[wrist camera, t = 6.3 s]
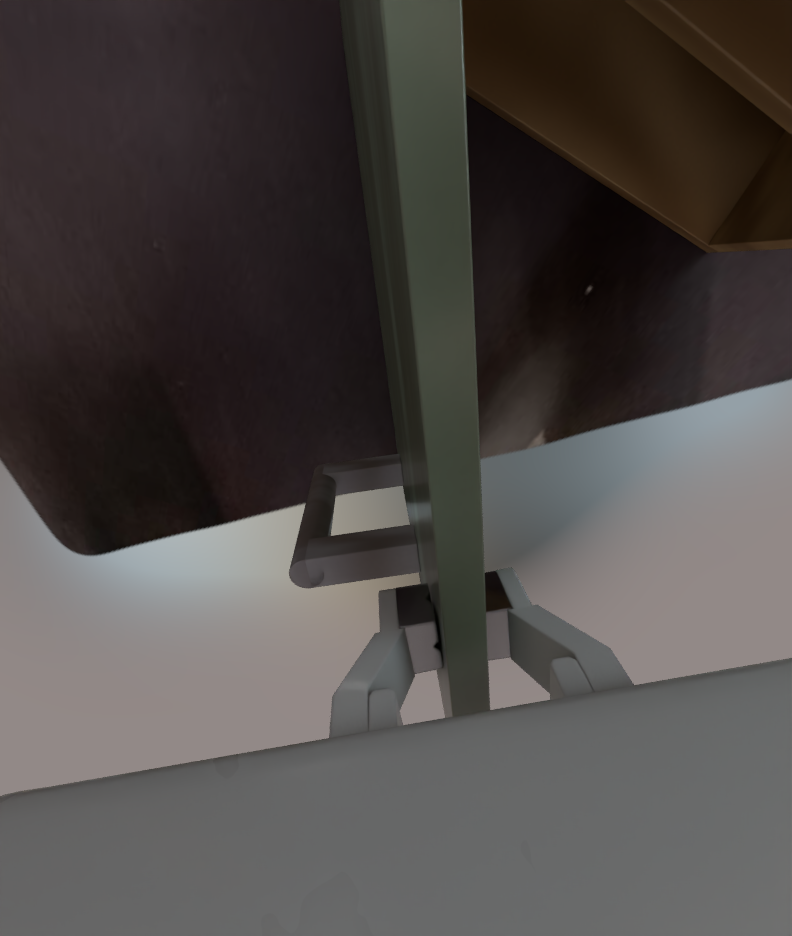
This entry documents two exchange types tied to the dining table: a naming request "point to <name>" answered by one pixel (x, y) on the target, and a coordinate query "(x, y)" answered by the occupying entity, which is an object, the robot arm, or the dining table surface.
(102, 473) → the dining table surface
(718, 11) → the cupboard
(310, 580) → the door
